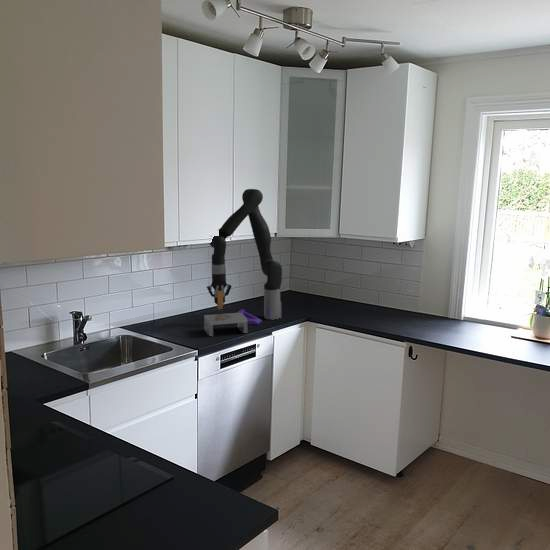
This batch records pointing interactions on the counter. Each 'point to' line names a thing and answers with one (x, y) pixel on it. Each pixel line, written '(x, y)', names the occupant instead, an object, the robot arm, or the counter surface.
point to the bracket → (250, 317)
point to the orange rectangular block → (220, 299)
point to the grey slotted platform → (225, 321)
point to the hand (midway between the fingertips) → (219, 303)
